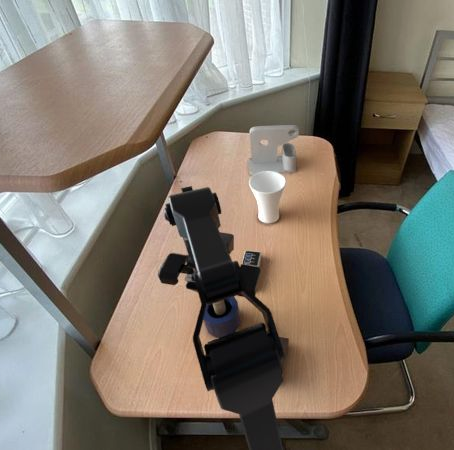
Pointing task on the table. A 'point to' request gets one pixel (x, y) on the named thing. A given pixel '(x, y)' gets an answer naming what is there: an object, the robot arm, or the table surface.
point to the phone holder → (272, 149)
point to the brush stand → (285, 349)
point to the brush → (219, 307)
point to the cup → (268, 194)
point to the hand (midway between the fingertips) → (217, 298)
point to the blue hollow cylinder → (222, 319)
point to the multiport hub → (252, 258)
